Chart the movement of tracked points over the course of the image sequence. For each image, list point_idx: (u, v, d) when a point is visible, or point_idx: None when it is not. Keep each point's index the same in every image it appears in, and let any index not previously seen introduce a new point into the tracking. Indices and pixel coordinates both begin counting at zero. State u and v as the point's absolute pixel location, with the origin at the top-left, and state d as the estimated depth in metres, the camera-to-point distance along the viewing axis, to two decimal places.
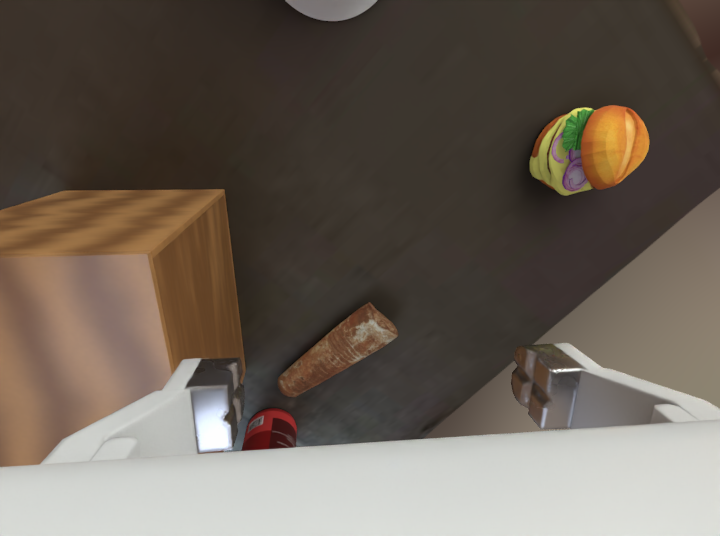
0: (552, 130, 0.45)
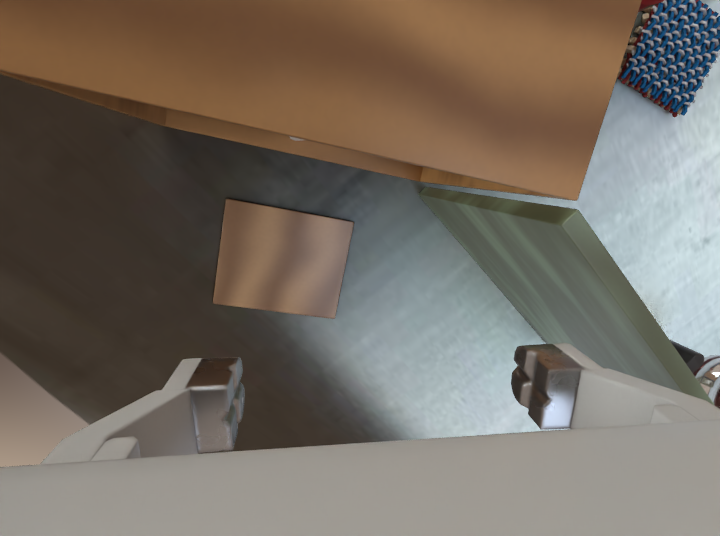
0: None
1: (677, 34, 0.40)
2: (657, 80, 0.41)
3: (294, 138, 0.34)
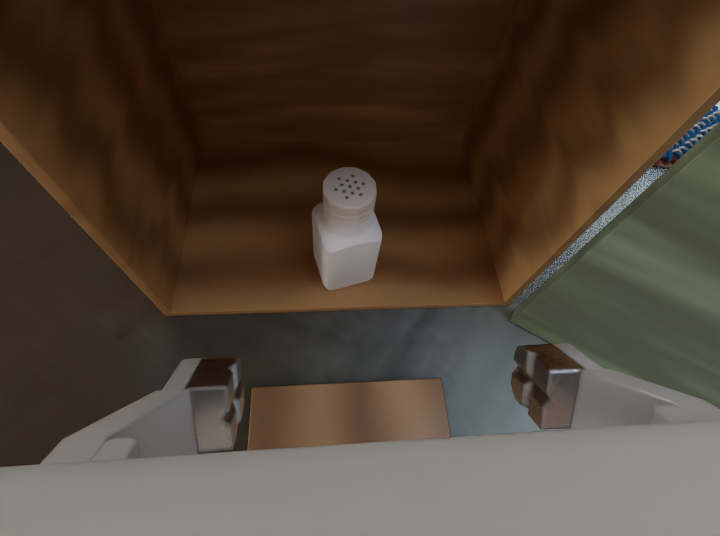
0: None
1: None
2: None
3: (332, 273, 0.27)
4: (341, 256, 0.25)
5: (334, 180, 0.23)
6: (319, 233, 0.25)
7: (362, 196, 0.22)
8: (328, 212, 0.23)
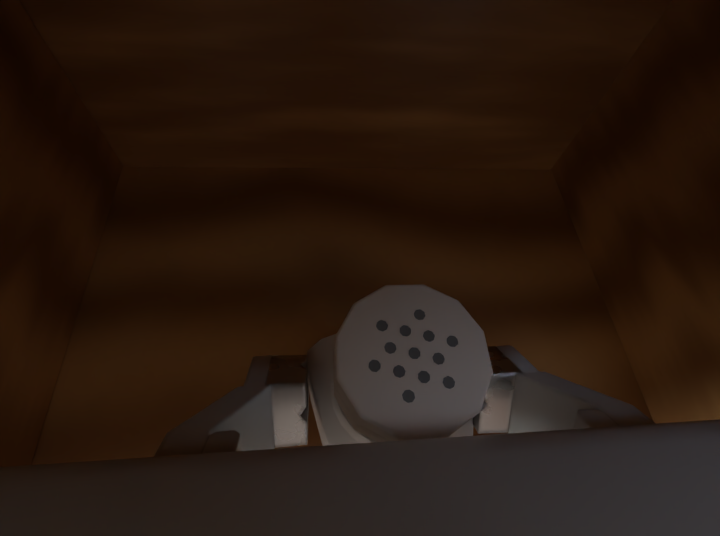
0: None
1: None
2: None
3: None
4: None
5: (367, 332, 0.08)
6: (323, 429, 0.10)
7: (455, 389, 0.07)
8: (350, 413, 0.08)
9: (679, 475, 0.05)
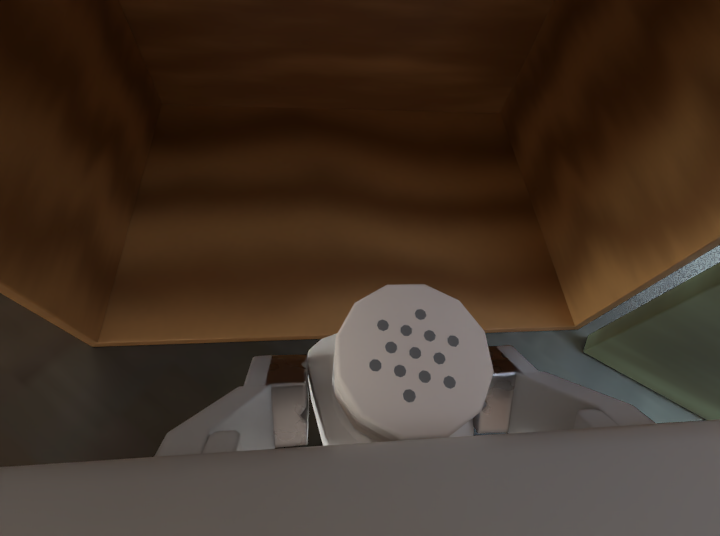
0: None
1: None
2: None
3: None
4: None
5: (368, 332, 0.08)
6: (324, 429, 0.10)
7: (456, 388, 0.07)
8: (351, 412, 0.08)
9: (679, 475, 0.05)
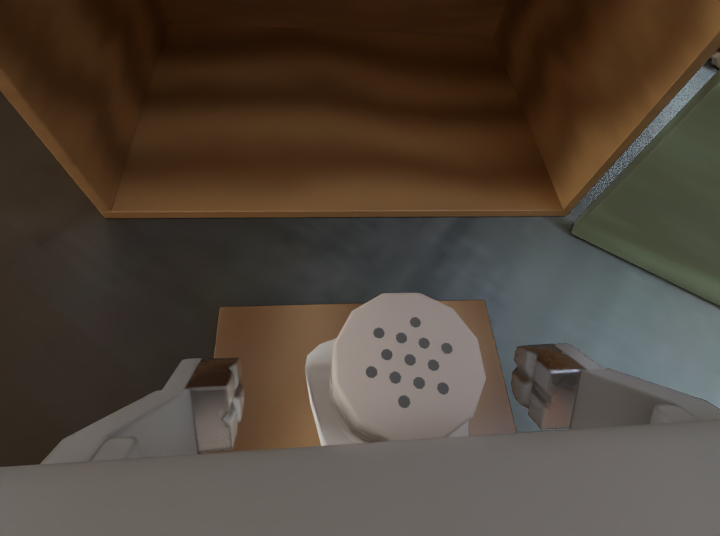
0: None
1: None
2: None
3: None
4: None
5: (365, 340, 0.08)
6: (322, 432, 0.10)
7: (448, 395, 0.08)
8: (348, 417, 0.08)
9: (679, 475, 0.05)
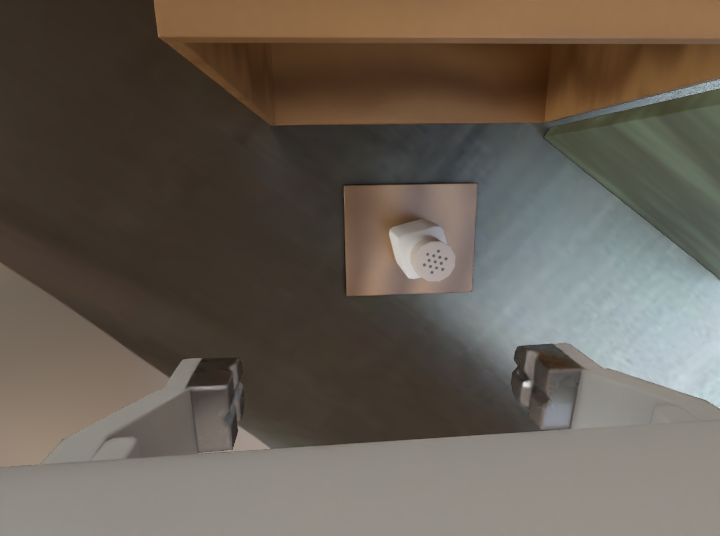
0: None
1: None
2: None
3: None
4: None
5: (423, 256, 0.29)
6: (403, 264, 0.33)
7: (443, 271, 0.29)
8: (415, 269, 0.30)
9: (679, 475, 0.05)
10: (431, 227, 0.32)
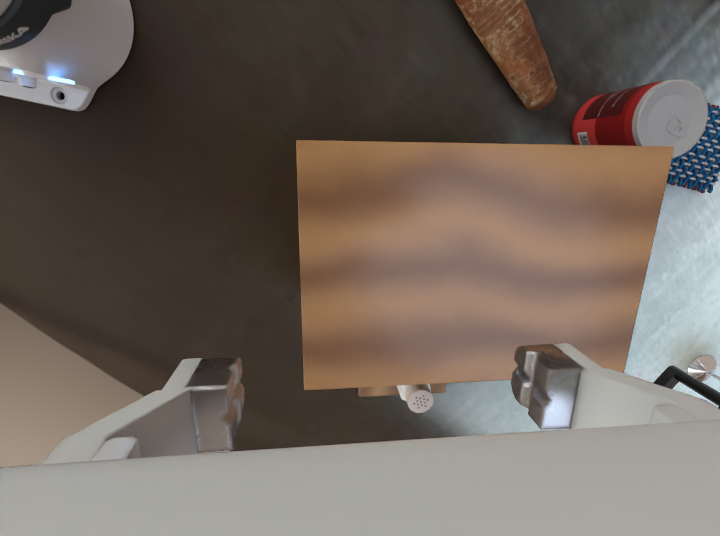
0: None
1: None
2: (682, 173, 0.51)
3: None
4: None
5: (413, 398, 0.46)
6: (399, 392, 0.50)
7: (426, 406, 0.47)
8: None
9: (679, 475, 0.05)
10: None
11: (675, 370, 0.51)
